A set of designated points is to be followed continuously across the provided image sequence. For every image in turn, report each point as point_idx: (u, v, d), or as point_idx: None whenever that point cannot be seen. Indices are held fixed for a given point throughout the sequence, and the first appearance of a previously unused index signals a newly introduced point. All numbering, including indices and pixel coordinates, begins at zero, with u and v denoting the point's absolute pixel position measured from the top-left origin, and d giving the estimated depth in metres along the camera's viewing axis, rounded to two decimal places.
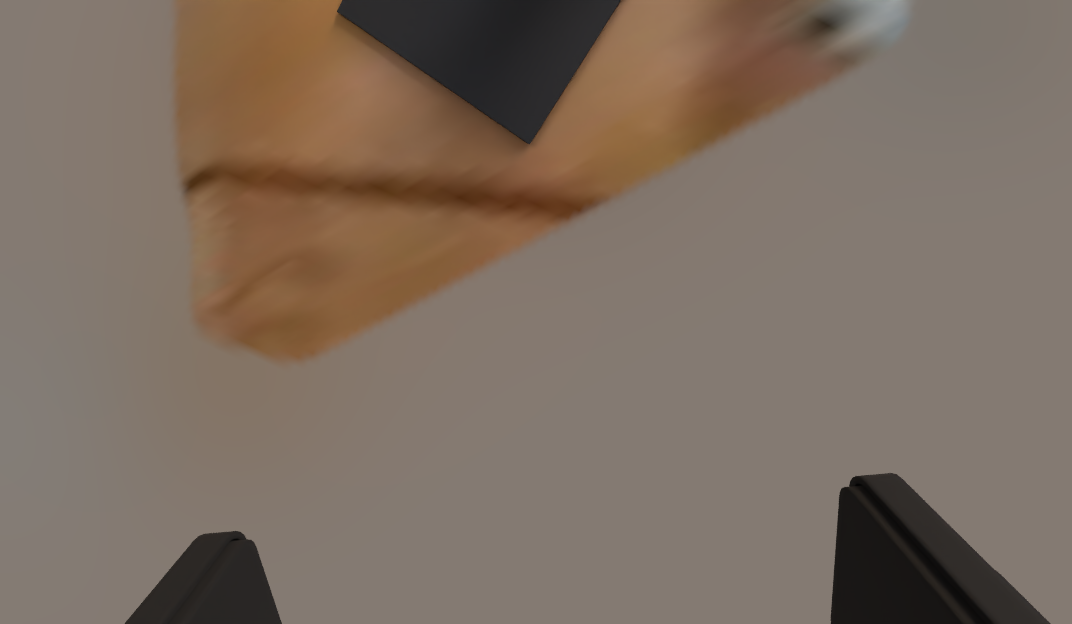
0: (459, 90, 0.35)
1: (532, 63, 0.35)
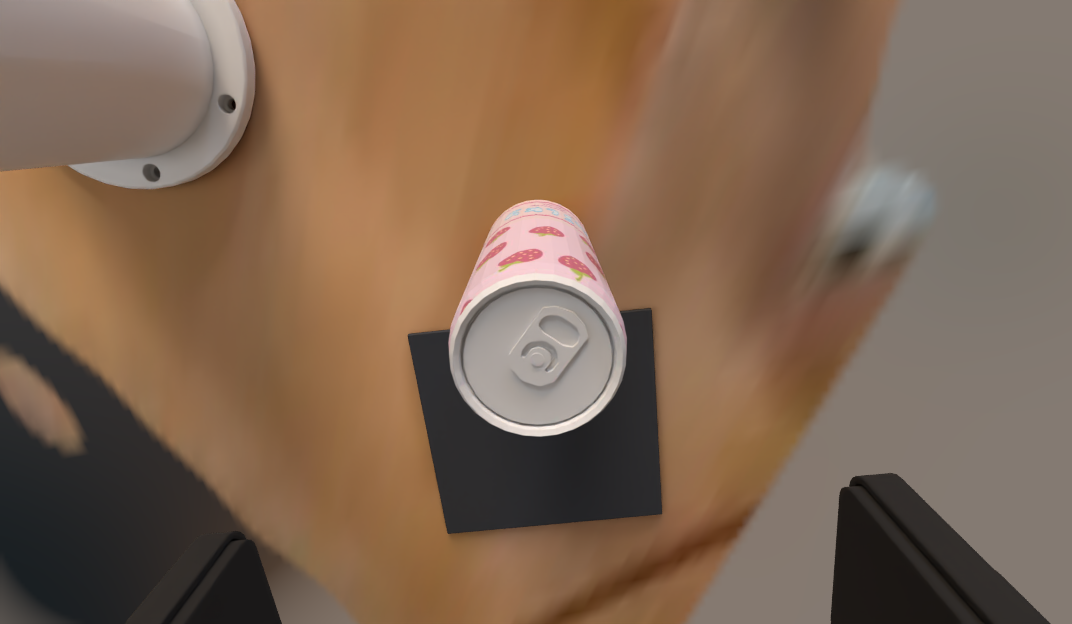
0: (576, 518, 0.36)
1: (618, 462, 0.35)
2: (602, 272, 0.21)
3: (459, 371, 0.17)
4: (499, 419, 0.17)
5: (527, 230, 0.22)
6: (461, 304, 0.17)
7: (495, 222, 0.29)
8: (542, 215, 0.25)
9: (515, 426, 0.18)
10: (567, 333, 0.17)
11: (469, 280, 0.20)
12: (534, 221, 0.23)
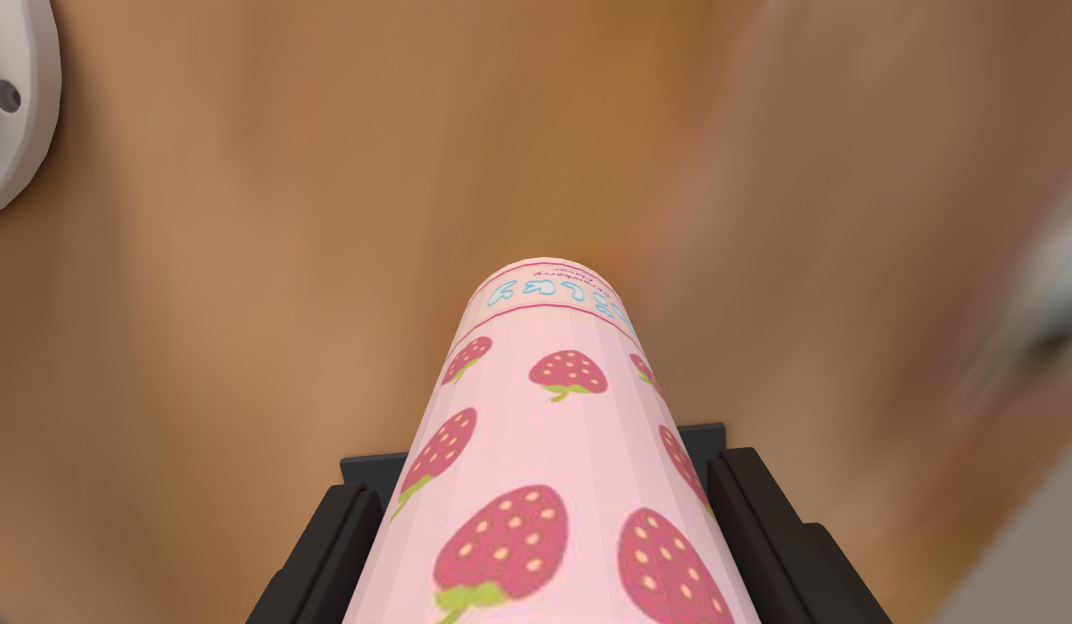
0: None
1: None
2: (699, 481, 0.09)
3: None
4: None
5: (526, 368, 0.10)
6: None
7: (474, 296, 0.17)
8: (555, 306, 0.13)
9: None
10: None
11: (385, 514, 0.08)
12: (541, 330, 0.12)
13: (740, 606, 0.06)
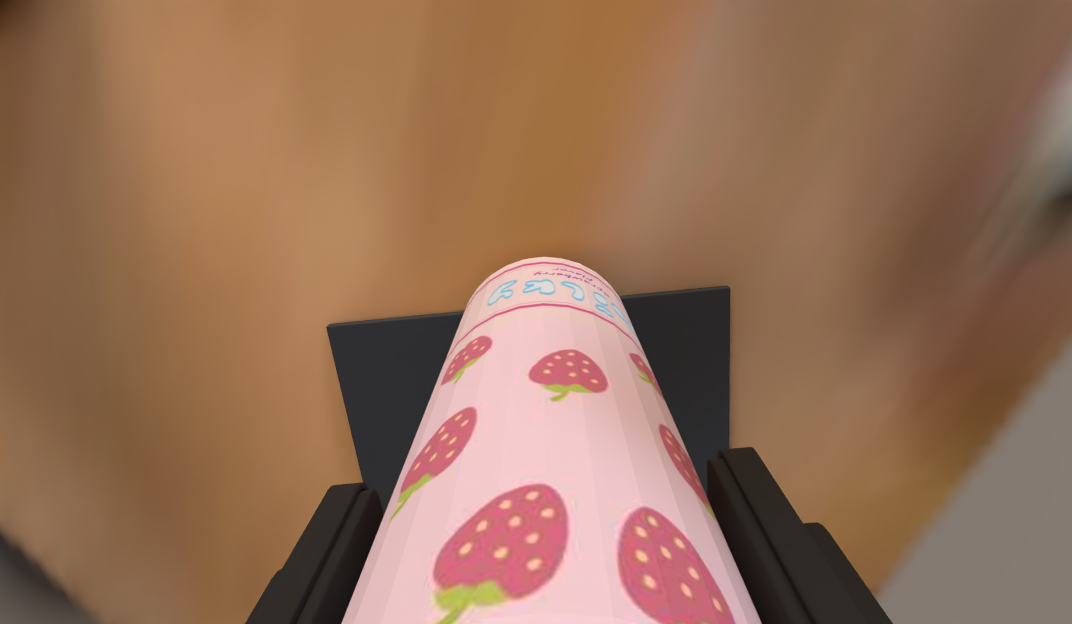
0: None
1: None
2: (699, 481, 0.09)
3: None
4: None
5: (526, 367, 0.10)
6: None
7: (474, 296, 0.17)
8: (555, 306, 0.13)
9: None
10: None
11: (385, 513, 0.08)
12: (540, 330, 0.12)
13: (740, 605, 0.06)
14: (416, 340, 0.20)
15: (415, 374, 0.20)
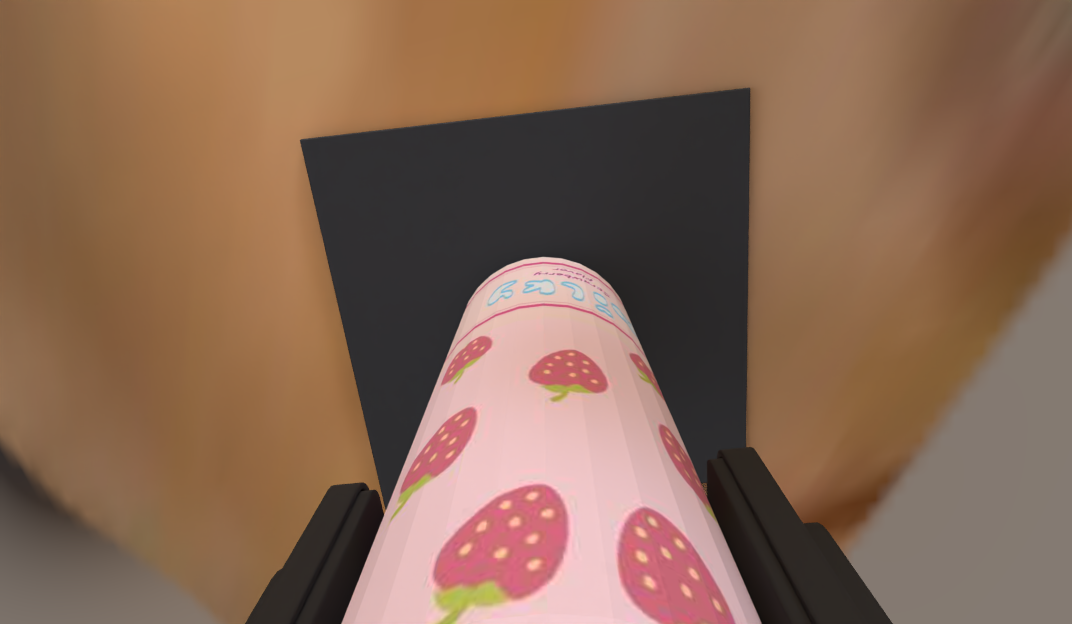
0: None
1: (676, 388, 0.20)
2: (699, 481, 0.09)
3: None
4: None
5: (526, 368, 0.10)
6: None
7: (474, 296, 0.17)
8: (555, 306, 0.13)
9: None
10: None
11: (385, 514, 0.08)
12: (541, 330, 0.12)
13: (740, 606, 0.06)
14: (400, 155, 0.18)
15: (399, 197, 0.18)
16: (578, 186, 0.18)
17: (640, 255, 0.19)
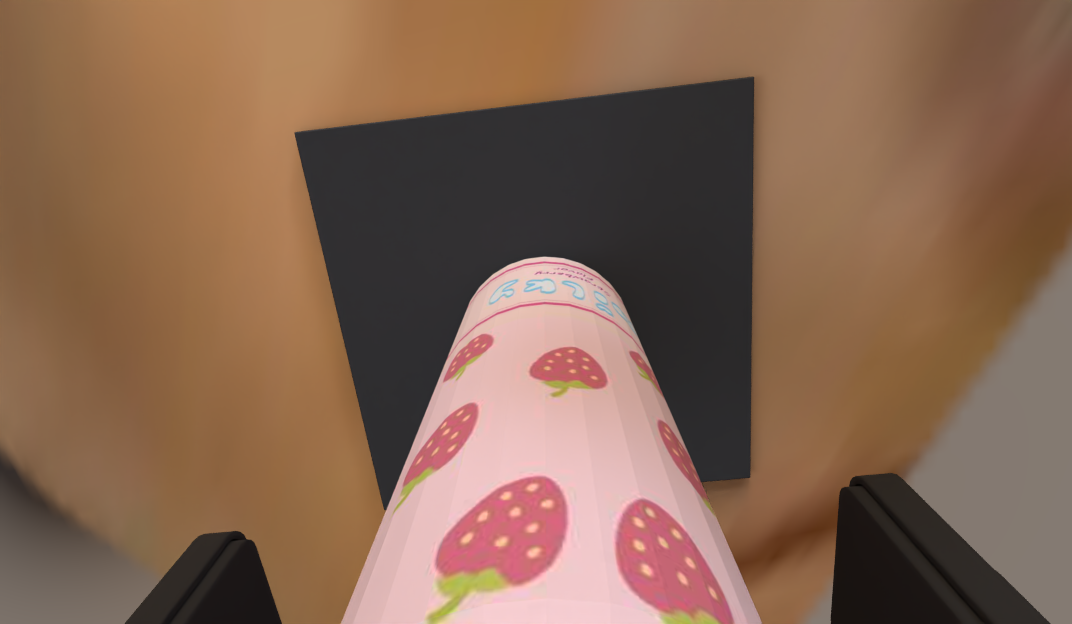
0: None
1: (680, 384, 0.20)
2: (697, 476, 0.09)
3: None
4: None
5: (526, 364, 0.10)
6: None
7: (476, 295, 0.18)
8: (556, 305, 0.13)
9: None
10: None
11: (388, 507, 0.08)
12: (541, 327, 0.12)
13: (736, 594, 0.06)
14: (396, 148, 0.17)
15: (396, 191, 0.18)
16: (578, 179, 0.18)
17: (642, 249, 0.18)
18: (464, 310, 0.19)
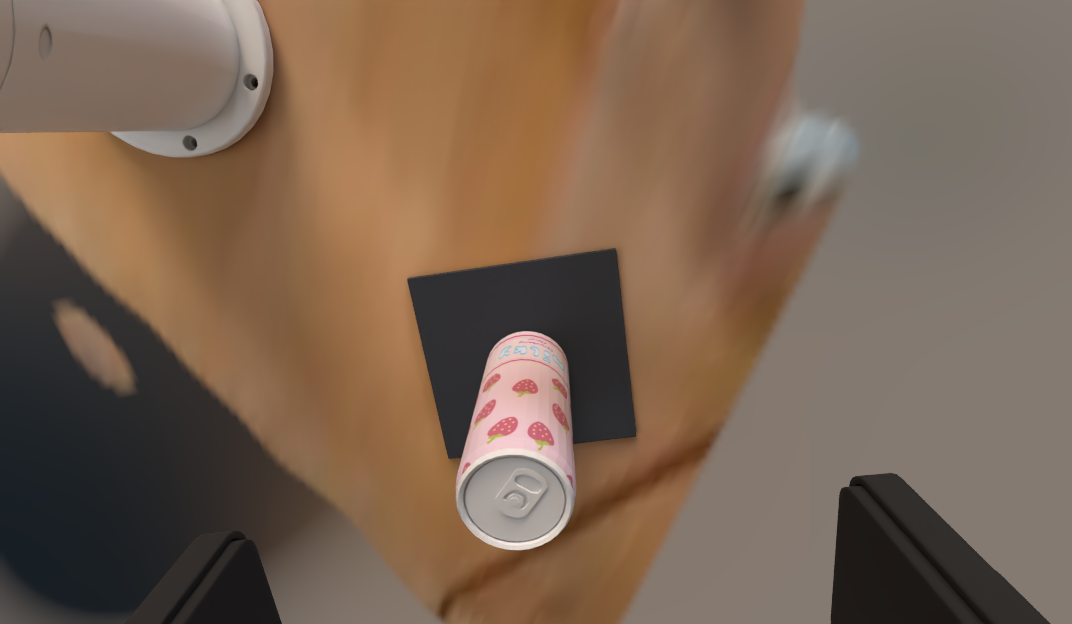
0: None
1: (595, 389, 0.40)
2: (564, 420, 0.29)
3: (463, 509, 0.25)
4: (491, 539, 0.26)
5: (511, 386, 0.30)
6: (463, 463, 0.26)
7: (492, 351, 0.38)
8: (525, 360, 0.33)
9: (501, 543, 0.26)
10: (533, 484, 0.25)
11: (470, 430, 0.29)
12: (518, 371, 0.32)
13: (558, 442, 0.26)
14: (454, 284, 0.38)
15: (454, 303, 0.38)
16: (539, 295, 0.38)
17: (571, 325, 0.38)
18: (487, 356, 0.39)
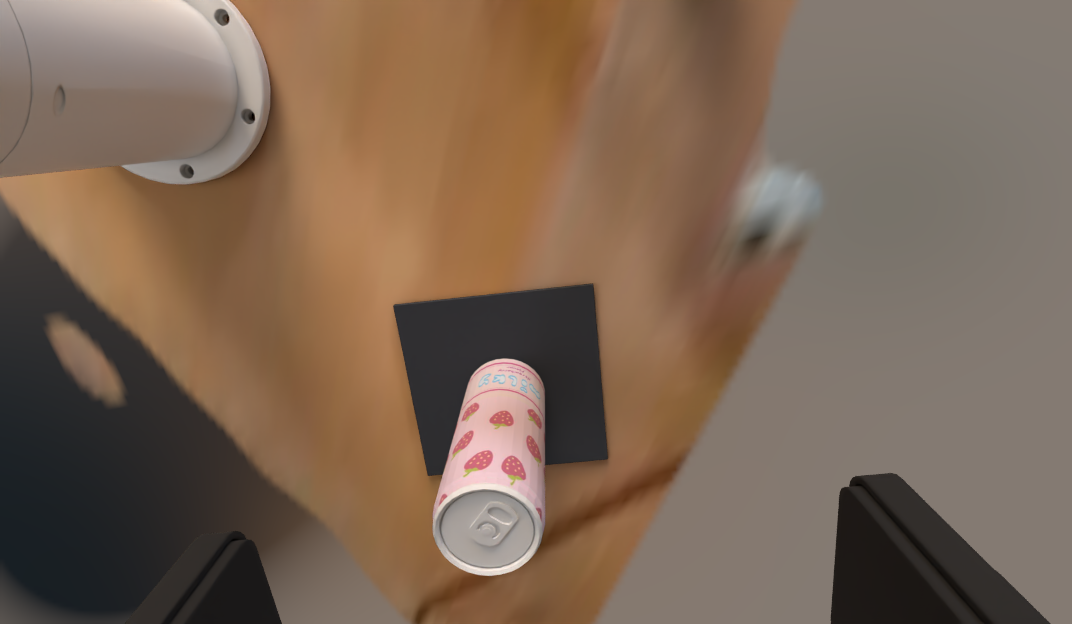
0: None
1: (570, 414, 0.42)
2: (537, 452, 0.31)
3: (438, 537, 0.27)
4: (464, 564, 0.28)
5: (489, 417, 0.32)
6: (440, 494, 0.27)
7: (473, 377, 0.39)
8: (503, 390, 0.35)
9: (474, 568, 0.28)
10: (505, 516, 0.27)
11: (448, 460, 0.30)
12: (496, 402, 0.34)
13: (530, 475, 0.28)
14: (438, 312, 0.39)
15: (437, 329, 0.40)
16: (519, 324, 0.40)
17: (549, 354, 0.40)
18: (468, 380, 0.41)
